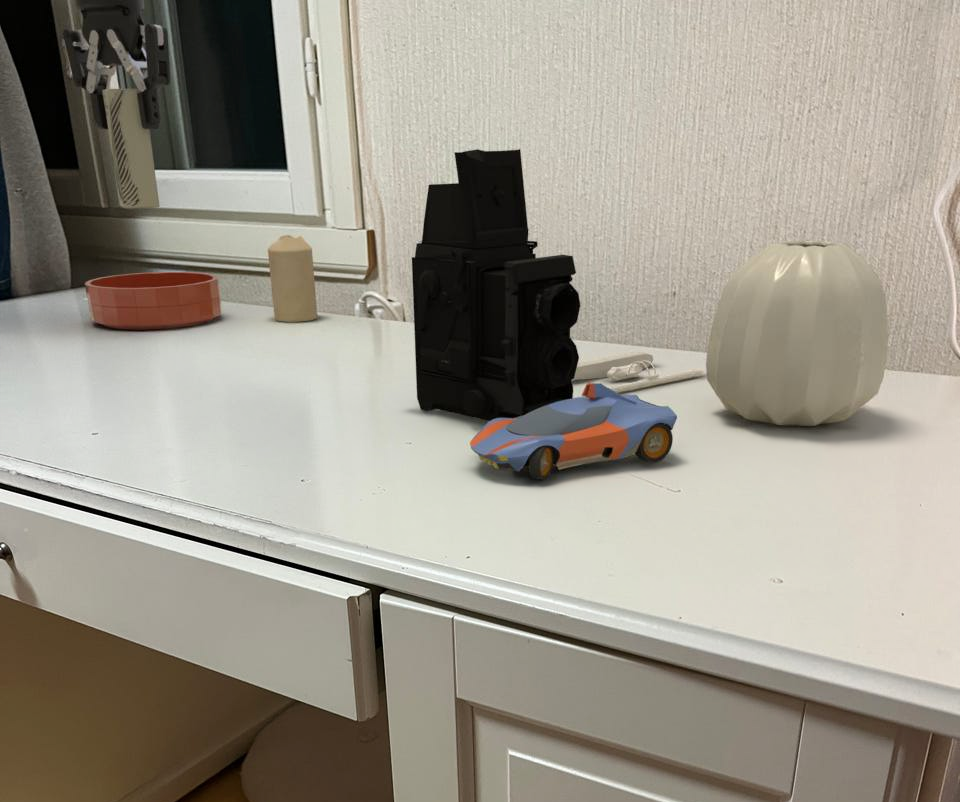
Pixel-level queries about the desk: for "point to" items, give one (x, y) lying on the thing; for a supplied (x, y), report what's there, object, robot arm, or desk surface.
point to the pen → (609, 364)
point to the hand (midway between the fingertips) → (128, 128)
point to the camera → (489, 298)
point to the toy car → (578, 433)
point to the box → (130, 150)
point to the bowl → (154, 300)
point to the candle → (292, 279)
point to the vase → (799, 335)
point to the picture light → (635, 370)
